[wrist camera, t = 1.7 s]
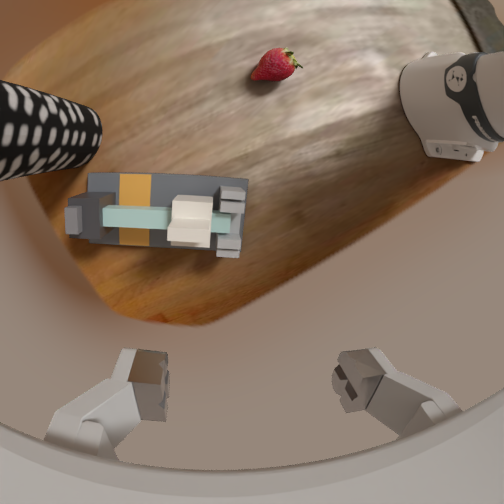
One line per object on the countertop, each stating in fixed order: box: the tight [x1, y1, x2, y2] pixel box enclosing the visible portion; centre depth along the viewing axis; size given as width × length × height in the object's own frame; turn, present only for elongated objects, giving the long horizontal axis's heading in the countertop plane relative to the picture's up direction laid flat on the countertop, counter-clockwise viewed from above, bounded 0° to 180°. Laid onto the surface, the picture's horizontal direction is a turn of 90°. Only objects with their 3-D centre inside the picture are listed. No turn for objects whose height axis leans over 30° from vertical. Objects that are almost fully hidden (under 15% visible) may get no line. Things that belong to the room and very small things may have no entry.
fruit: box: [251, 48, 303, 81], centre depth 27 cm, size 4×6×5 cm
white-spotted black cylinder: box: [0, 80, 102, 181], centre depth 19 cm, size 8×8×20 cm
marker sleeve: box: [167, 195, 213, 248], centre depth 28 cm, size 4×5×9 cm
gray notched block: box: [216, 186, 246, 258], centre depth 31 cm, size 2×7×6 cm, turn 174°
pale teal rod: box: [103, 205, 231, 233], centre depth 29 cm, size 16×2×2 cm, turn 84°
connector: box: [65, 192, 116, 240], centre depth 28 cm, size 4×4×7 cm
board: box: [88, 173, 248, 252], centre depth 33 cm, size 20×9×1 cm, turn 84°
